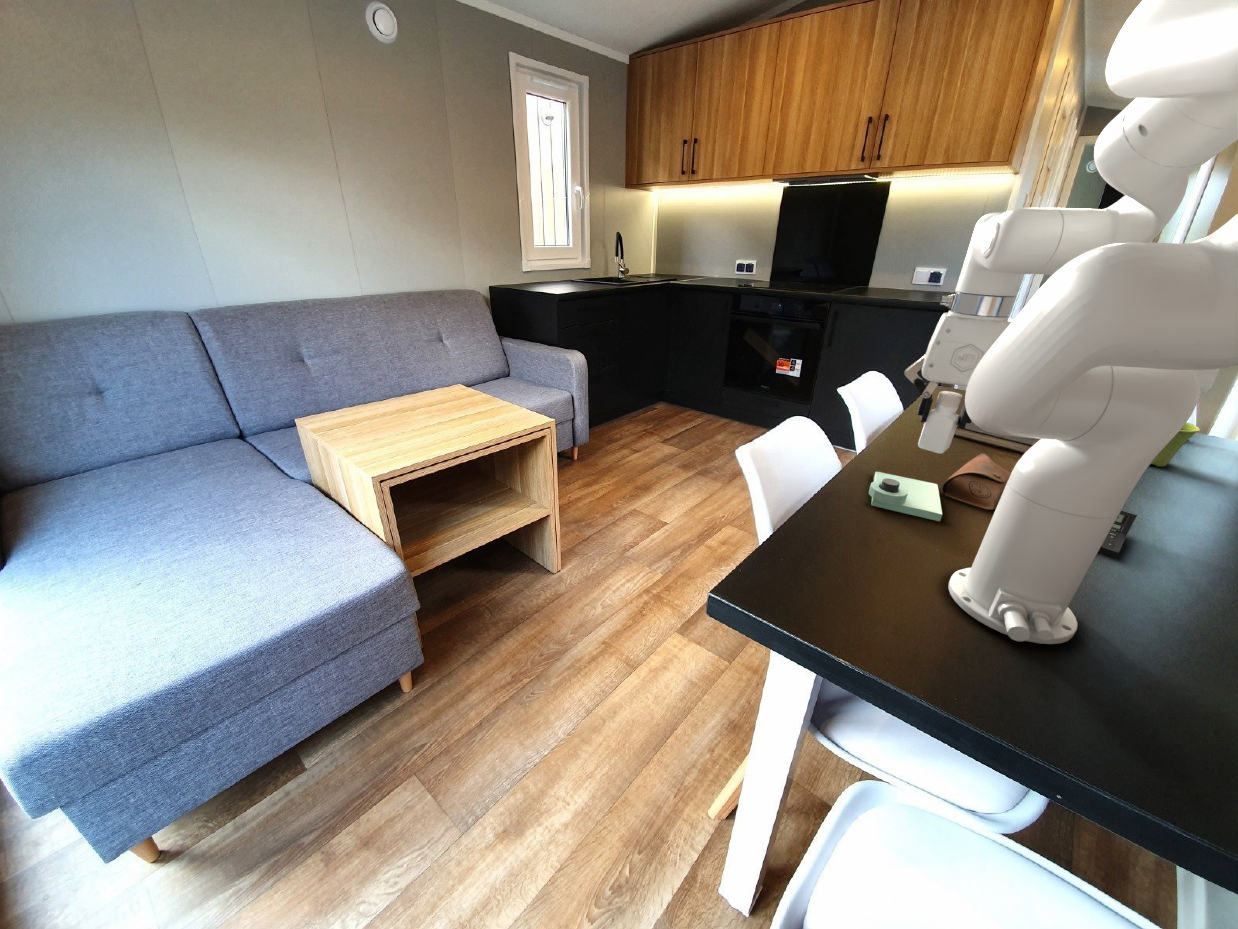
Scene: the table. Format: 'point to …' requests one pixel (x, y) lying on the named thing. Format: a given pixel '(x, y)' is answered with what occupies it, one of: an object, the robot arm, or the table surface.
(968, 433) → the hardcover book
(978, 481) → the sunglasses case
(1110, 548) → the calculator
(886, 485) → the tare button
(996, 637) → the table surface
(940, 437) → the pepper shaker
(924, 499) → the scale
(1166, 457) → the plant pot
